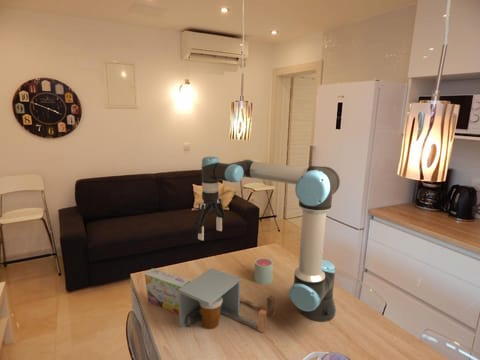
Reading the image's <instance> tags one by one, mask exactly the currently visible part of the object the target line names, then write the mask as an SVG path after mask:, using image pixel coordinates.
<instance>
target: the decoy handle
mask: <svg viewBox="0 0 480 360" xmlns="http://www.w3.org/2000/svg"><path fill="white" fill-rule="evenodd" d="M275 299H276V297H275V296H273V295H270V294H269V295H268V296H267V297H266V306H262V305H260V304H258V303H255V302H253V301H250V300H247V299H245V298H243V297H240V304H241V305H244V306H247V307H249V308H250V309H253V310H255V311H258V312H259V311H260V310H261V309H262V310H265V311H267V316H269V317H270V318H271V317H273V315H274V314H275V303H276V300H275Z"/></svg>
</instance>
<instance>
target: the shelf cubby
mask: <svg viewBox="0 0 480 360" xmlns="http://www.w3.org/2000/svg"><path fill="white" fill-rule="evenodd" d="M178 295H179V314H178V322H179V323H178V325H179V326H178V327H179V328H180V329H182V328H184V327H185V326H187V317H188V316H189V315H190V314H191V313H193V312H194V311H195V310H197V309H198V308H199V307H200V304H199V302H201V303H204V304H206V305H208V306H209V305H211V304H212V303H213V302H214V301H216V300H217V299H218V298H219V297H222V299H223V302H222V304H221V307H223V308H225V309H227V310H229V311H232V312H234V313H236V314H239V315H241V314H240V310H241V309H240V306H241V305H240V304H241V303H240V298H241V278H240V277H238V276H235V275H232V274H230V273H227V272H223V271H220V270H218V269H215V268H212V267H211V268H209V269H208V270H207V271H205V272H203V273H202V274H200V275H199V276H197V277H195V278H194V279H192V280H191V281H190V282H189V283H188V284H186V285H185V286H183V287H181V288H180V289H178Z"/></svg>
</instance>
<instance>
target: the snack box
mask: <svg viewBox="0 0 480 360" xmlns="http://www.w3.org/2000/svg"><path fill="white" fill-rule="evenodd" d="M144 278H145V279H144V280H145V286H146V293H147V300H148V301H149V302H148V301H147V302H148V303H150V302H151V304H153V305H155V304H156V305H155V306H158V307H160V308H163V309H165V310H167V309H168V311H170V312H172V311H173V313H175V314H177V315H179V295H178V289H180V288H181V287H183V286H185V285H186V284H188V283H189V282H191V281H190V280H189V279H187V278H183V277H180V276H176V275H174V274H170V273H167V272H164V271H162V270H159V269H156V268H152V267H151V269H149V270H148V271H146V272H145V273H144Z"/></svg>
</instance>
